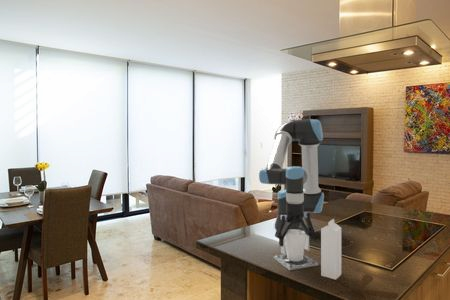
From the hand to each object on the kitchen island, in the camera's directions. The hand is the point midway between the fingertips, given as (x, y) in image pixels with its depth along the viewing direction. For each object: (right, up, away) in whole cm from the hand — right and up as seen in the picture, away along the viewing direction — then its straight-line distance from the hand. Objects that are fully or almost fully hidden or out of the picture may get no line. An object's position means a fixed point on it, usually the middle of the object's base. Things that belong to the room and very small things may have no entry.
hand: (295, 251), depth 142 cm
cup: (0, -3, 0) cm, 3 cm away
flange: (0, -5, 0) cm, 5 cm away
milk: (+11, -5, -14) cm, 19 cm away
